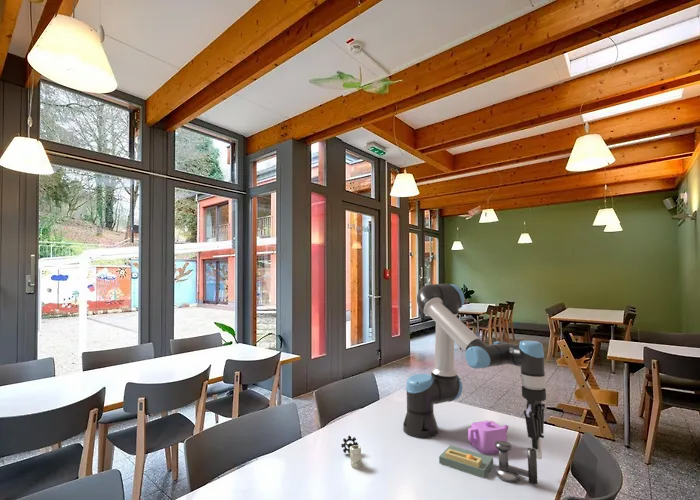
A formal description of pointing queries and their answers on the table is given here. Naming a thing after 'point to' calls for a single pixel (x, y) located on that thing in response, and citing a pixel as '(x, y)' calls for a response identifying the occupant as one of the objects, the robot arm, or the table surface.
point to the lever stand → (466, 461)
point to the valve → (353, 452)
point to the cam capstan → (513, 472)
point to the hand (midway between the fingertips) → (537, 457)
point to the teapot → (486, 436)
